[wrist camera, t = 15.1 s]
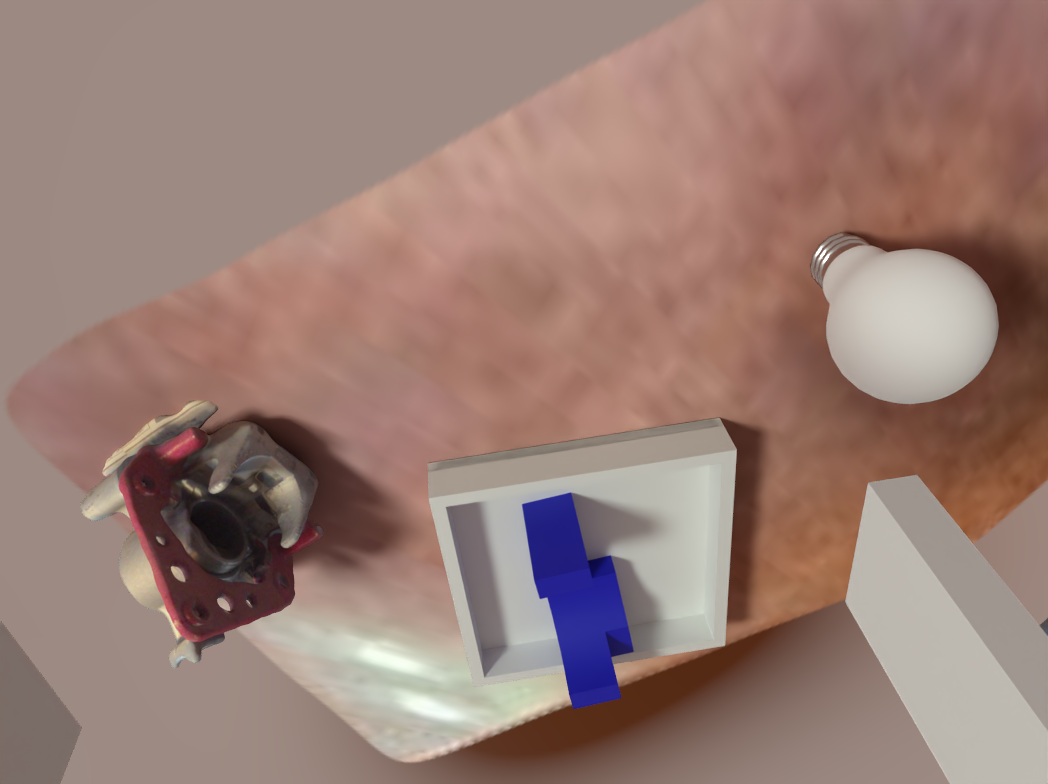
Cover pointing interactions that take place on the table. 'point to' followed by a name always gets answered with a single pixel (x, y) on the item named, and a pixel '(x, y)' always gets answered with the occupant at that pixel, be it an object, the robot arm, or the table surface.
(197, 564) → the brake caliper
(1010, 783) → the robot arm
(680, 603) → the kit tray
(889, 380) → the light bulb
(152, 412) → the table surface
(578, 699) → the blue curved block
